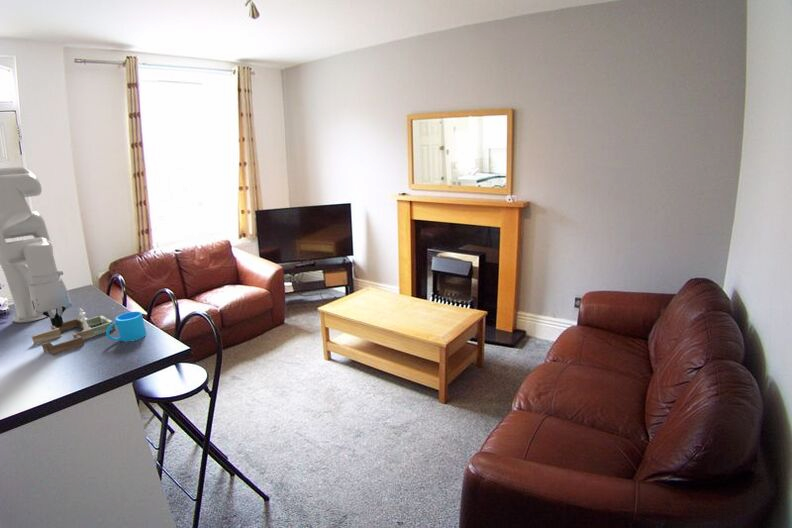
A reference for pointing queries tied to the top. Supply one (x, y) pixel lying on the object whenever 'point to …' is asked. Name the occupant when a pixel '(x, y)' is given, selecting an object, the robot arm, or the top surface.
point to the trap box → (77, 336)
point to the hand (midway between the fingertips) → (58, 326)
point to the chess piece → (84, 319)
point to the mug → (128, 326)
